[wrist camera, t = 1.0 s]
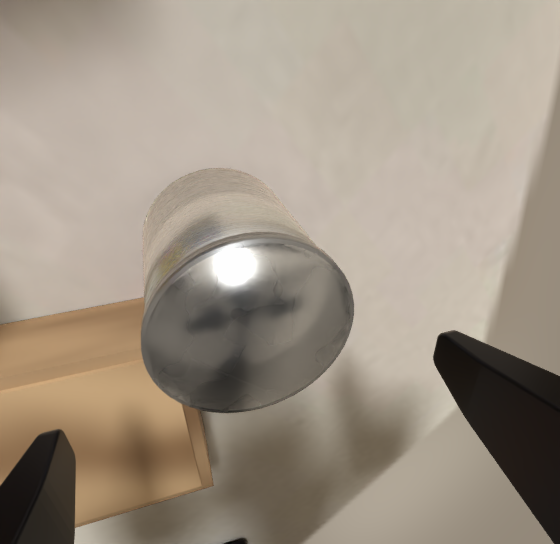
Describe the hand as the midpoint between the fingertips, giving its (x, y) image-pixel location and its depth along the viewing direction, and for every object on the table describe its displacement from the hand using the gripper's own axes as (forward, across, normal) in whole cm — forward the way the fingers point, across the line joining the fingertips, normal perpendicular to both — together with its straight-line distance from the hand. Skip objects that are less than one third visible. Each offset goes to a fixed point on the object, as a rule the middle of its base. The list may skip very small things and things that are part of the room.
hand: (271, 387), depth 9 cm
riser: (+8, +6, +6) cm, 12 cm away
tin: (+8, 0, 0) cm, 8 cm away
